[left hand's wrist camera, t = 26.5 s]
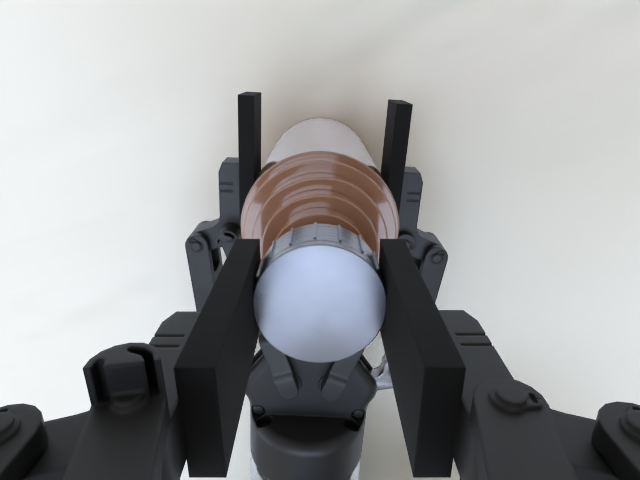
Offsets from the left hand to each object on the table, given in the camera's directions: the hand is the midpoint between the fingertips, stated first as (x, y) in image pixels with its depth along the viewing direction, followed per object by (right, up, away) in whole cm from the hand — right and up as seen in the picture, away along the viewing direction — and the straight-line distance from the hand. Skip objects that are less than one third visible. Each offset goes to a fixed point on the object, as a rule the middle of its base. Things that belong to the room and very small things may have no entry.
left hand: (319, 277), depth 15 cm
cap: (0, -1, -2) cm, 2 cm away
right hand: (0, +8, +7) cm, 11 cm away
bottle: (0, +6, +16) cm, 17 cm away
